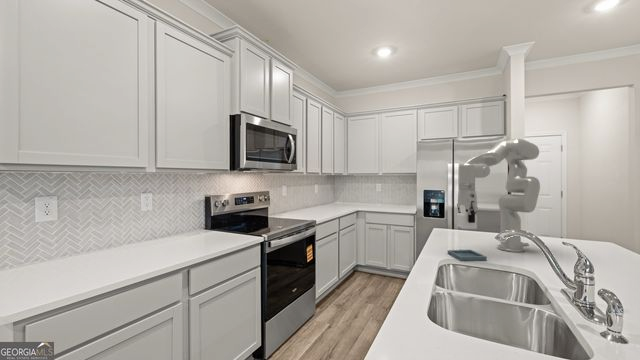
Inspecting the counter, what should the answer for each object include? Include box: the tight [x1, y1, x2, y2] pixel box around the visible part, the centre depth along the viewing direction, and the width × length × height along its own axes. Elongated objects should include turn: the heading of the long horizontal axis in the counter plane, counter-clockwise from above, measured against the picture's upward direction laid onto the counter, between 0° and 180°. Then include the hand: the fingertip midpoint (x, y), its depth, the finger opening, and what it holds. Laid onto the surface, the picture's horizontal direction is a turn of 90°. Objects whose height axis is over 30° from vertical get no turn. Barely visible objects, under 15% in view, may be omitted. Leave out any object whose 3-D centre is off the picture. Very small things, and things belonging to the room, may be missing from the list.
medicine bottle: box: [456, 205, 478, 230], centre depth 142 cm, size 7×7×12 cm
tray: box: [447, 249, 488, 262], centre depth 142 cm, size 13×13×2 cm
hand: (466, 221), depth 142 cm, fingers closed on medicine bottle, 7 cm apart
